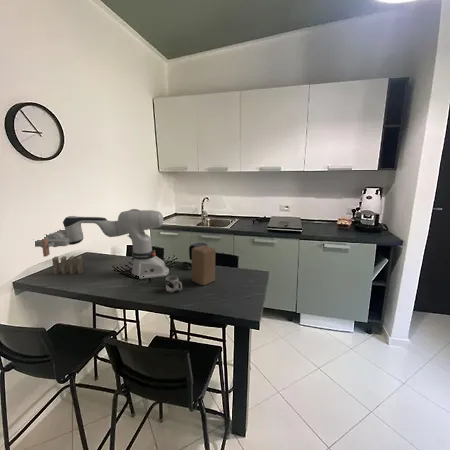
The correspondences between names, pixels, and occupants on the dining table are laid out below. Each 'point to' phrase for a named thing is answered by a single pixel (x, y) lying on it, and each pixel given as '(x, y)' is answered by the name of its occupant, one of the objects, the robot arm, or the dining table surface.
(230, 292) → the dining table surface
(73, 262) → the domino
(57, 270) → the domino
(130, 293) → the dining table surface
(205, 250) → the wooden block
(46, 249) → the domino
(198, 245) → the milk frother
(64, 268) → the domino
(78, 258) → the domino
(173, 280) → the mug
